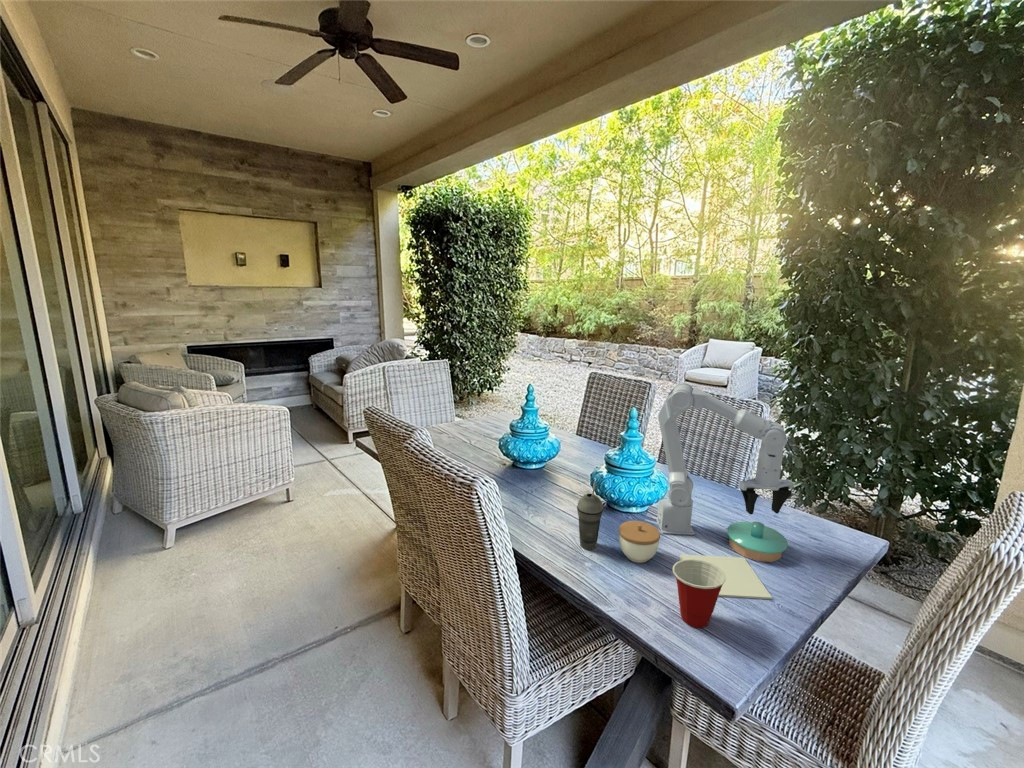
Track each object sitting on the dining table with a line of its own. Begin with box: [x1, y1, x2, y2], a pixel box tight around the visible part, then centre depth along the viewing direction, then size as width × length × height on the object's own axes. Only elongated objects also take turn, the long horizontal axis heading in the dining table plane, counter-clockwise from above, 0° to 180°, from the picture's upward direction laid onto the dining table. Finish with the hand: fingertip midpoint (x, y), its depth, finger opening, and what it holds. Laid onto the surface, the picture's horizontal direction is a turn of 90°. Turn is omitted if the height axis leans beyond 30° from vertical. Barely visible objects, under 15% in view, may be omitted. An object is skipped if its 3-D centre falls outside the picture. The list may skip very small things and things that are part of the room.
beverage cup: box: [576, 480, 604, 551], centre depth 128 cm, size 7×7×20 cm
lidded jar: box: [618, 520, 661, 564], centre depth 124 cm, size 11×11×9 cm
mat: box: [679, 554, 773, 600], centre depth 117 cm, size 17×16×1 cm
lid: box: [726, 521, 789, 554], centre depth 128 cm, size 15×15×4 cm
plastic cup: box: [672, 559, 726, 629], centre depth 101 cm, size 11×11×12 cm
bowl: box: [728, 537, 783, 563], centre depth 129 cm, size 13×13×4 cm
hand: (762, 512), depth 128 cm, fingers open, 7 cm apart
